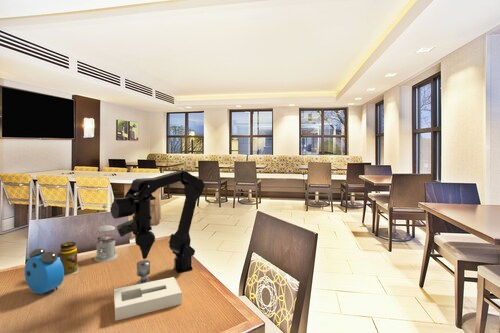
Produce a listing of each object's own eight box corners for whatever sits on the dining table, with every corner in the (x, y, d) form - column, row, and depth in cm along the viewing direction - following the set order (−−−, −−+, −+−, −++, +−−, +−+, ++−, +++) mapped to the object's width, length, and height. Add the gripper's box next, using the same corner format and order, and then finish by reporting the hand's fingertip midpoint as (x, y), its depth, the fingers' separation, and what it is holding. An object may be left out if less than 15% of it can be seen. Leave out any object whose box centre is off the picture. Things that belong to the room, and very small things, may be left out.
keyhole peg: (149, 281, 105) (149, 259, 104) (150, 287, 101) (150, 263, 100) (136, 284, 103) (136, 261, 102) (137, 290, 99) (137, 266, 98)
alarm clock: (65, 290, 98) (64, 250, 97) (46, 299, 92) (45, 256, 91) (42, 283, 103) (41, 244, 102) (24, 290, 97) (22, 250, 96)
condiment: (78, 273, 111) (78, 244, 111) (53, 278, 107) (52, 248, 106) (78, 266, 117) (77, 239, 117) (54, 271, 113) (53, 242, 112)
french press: (101, 263, 120) (100, 208, 118) (87, 257, 126) (86, 205, 125) (122, 256, 129) (121, 204, 127) (108, 251, 135) (107, 201, 133)
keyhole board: (174, 287, 101) (174, 276, 101) (181, 303, 91) (181, 292, 90) (114, 300, 92) (114, 289, 92) (115, 320, 81) (114, 308, 81)
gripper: (117, 209, 104) (118, 249, 106) (118, 222, 88) (120, 268, 89) (147, 207, 109) (148, 244, 111) (154, 218, 93) (155, 262, 94)
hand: (143, 254), depth 101 cm, fingers open, 9 cm apart
